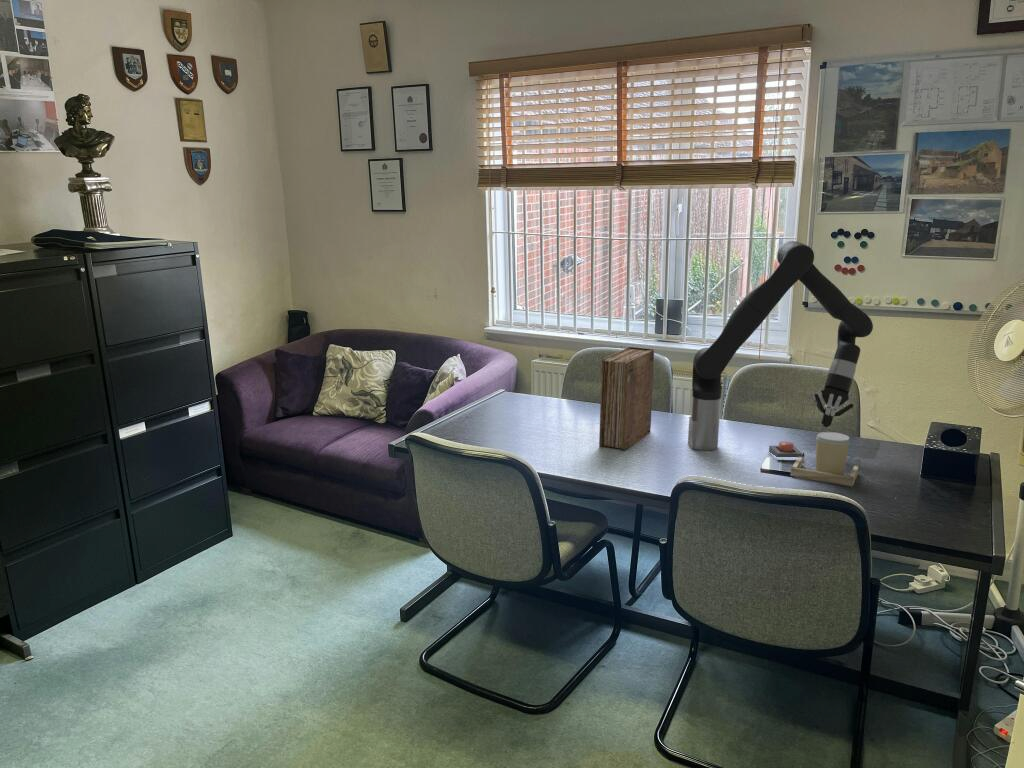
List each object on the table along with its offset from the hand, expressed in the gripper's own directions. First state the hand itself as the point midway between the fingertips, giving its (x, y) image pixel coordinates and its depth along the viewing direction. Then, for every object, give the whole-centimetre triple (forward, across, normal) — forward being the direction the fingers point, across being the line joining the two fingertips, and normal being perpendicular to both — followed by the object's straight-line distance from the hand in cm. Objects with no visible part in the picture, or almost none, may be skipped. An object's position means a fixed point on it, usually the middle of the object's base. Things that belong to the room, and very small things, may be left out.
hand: (825, 426), depth 244 cm
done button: (+12, -10, -2) cm, 15 cm away
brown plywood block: (+23, -60, +8) cm, 64 cm away
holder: (+15, 0, -16) cm, 22 cm away
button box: (+13, -9, -1) cm, 16 cm away
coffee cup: (+14, +2, -15) cm, 21 cm away
